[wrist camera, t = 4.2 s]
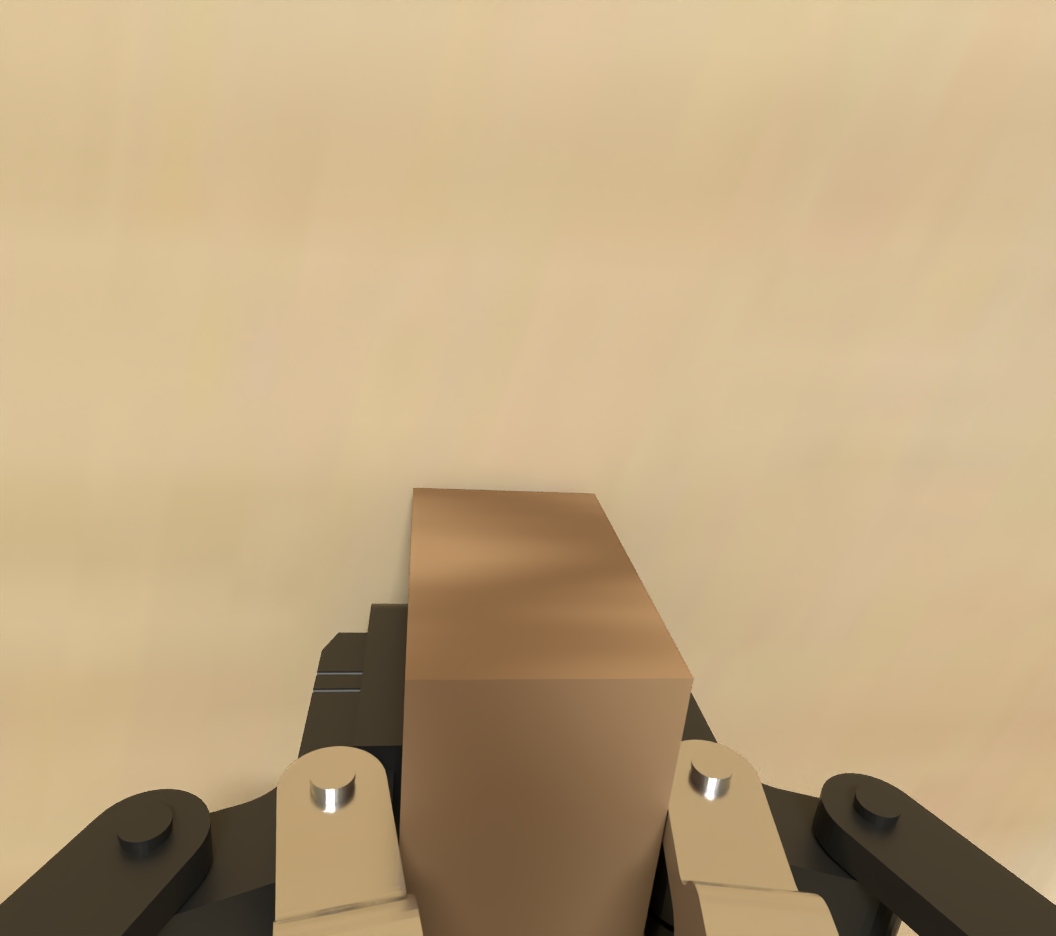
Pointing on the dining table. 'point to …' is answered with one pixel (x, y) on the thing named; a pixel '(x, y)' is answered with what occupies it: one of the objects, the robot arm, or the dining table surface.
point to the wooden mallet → (533, 719)
